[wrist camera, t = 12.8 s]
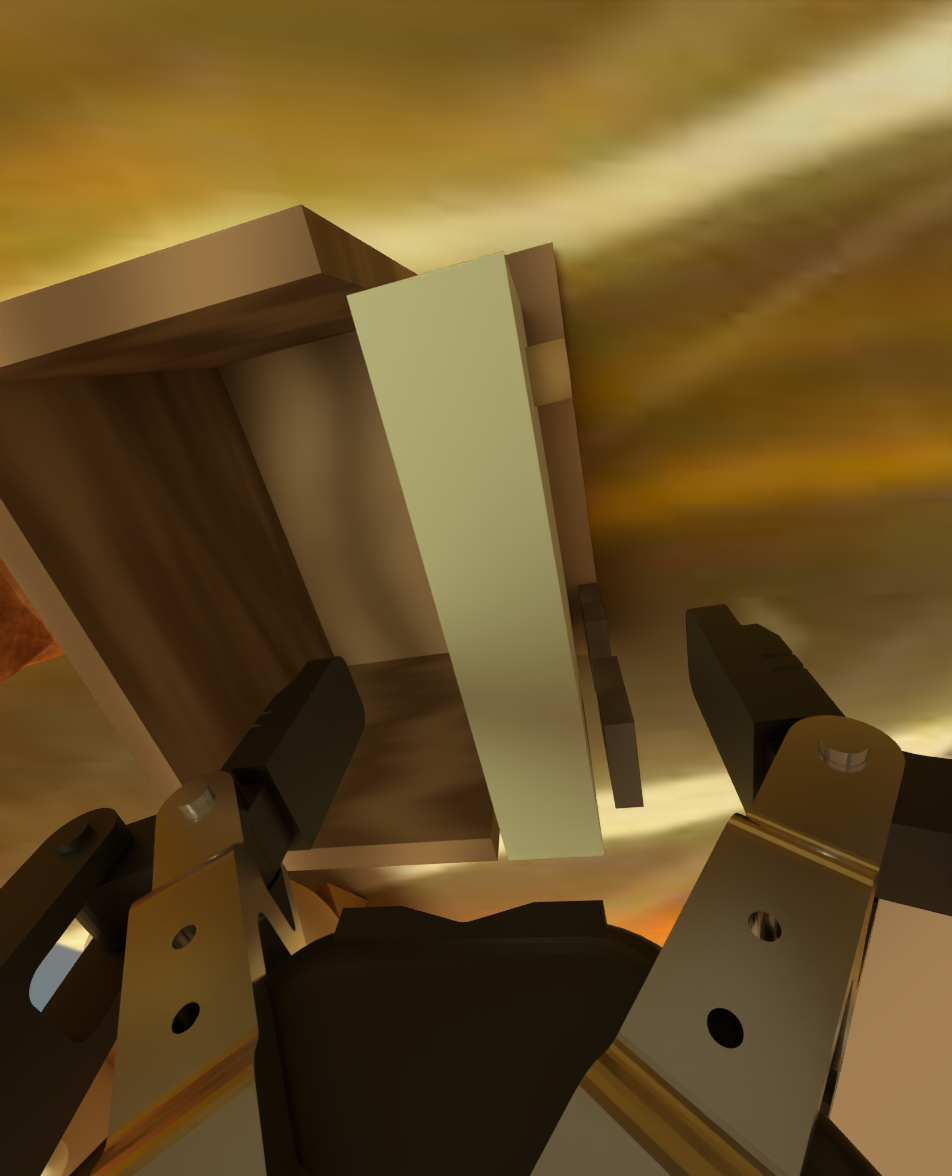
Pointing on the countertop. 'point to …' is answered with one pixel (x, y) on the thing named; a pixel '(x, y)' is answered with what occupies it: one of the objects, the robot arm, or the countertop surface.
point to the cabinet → (261, 523)
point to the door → (489, 533)
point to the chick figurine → (94, 1111)
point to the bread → (21, 629)
